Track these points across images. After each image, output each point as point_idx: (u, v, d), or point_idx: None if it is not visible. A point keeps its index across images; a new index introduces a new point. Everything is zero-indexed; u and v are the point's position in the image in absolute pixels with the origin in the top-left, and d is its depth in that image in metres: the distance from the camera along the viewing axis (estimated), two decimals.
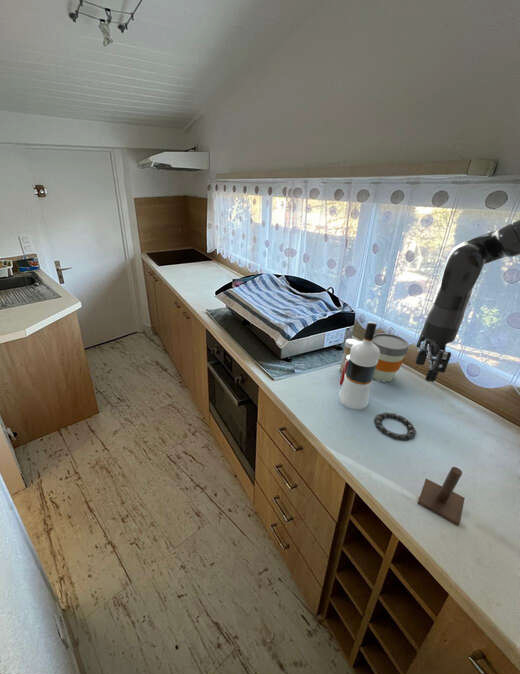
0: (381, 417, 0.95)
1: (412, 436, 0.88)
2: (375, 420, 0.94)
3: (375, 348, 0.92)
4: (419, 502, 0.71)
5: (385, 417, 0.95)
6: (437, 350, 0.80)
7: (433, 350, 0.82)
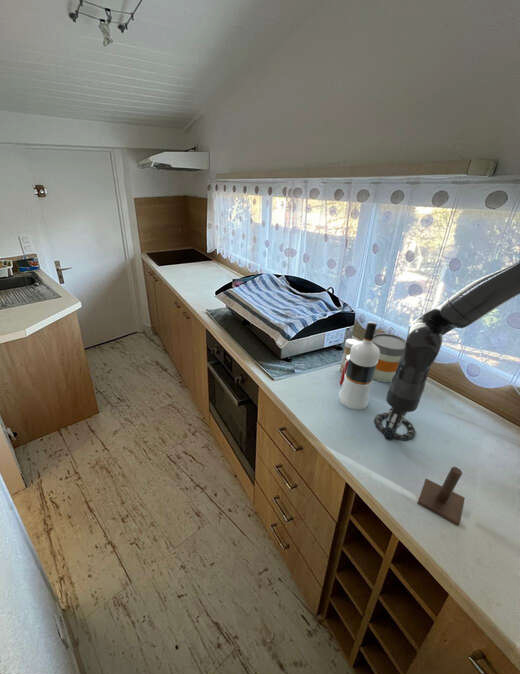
0: (381, 417, 0.95)
1: (412, 436, 0.88)
2: (375, 420, 0.94)
3: (375, 348, 0.92)
4: (419, 502, 0.71)
5: (385, 417, 0.95)
6: (391, 415, 0.83)
7: (390, 415, 0.84)
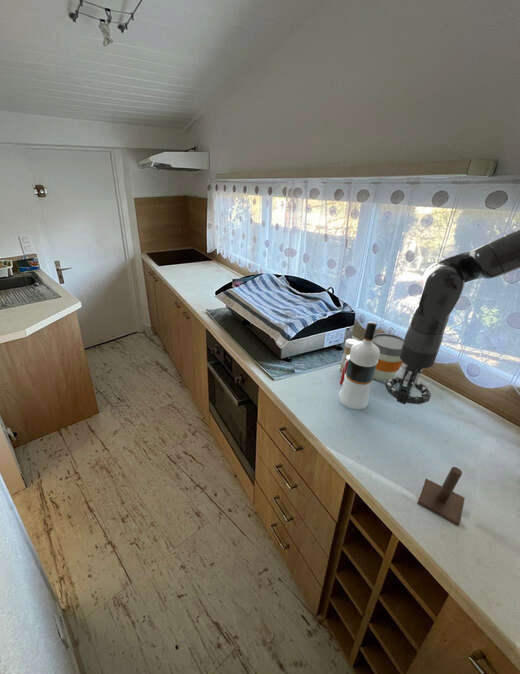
0: (393, 381, 0.88)
1: (427, 398, 0.81)
2: (386, 384, 0.87)
3: (375, 348, 0.92)
4: (419, 502, 0.71)
5: (397, 381, 0.89)
6: (405, 373, 0.76)
7: (404, 373, 0.78)
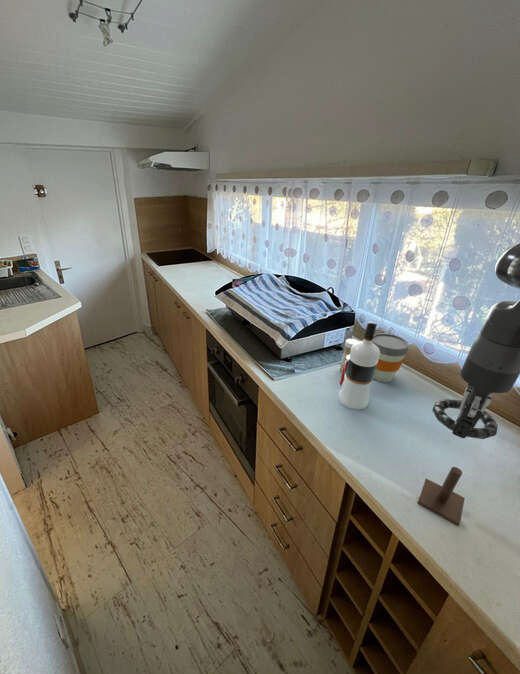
0: (443, 405, 0.67)
1: (494, 431, 0.61)
2: (435, 408, 0.67)
3: (375, 348, 0.92)
4: (419, 502, 0.71)
5: (448, 405, 0.68)
6: (471, 399, 0.55)
7: (468, 398, 0.57)
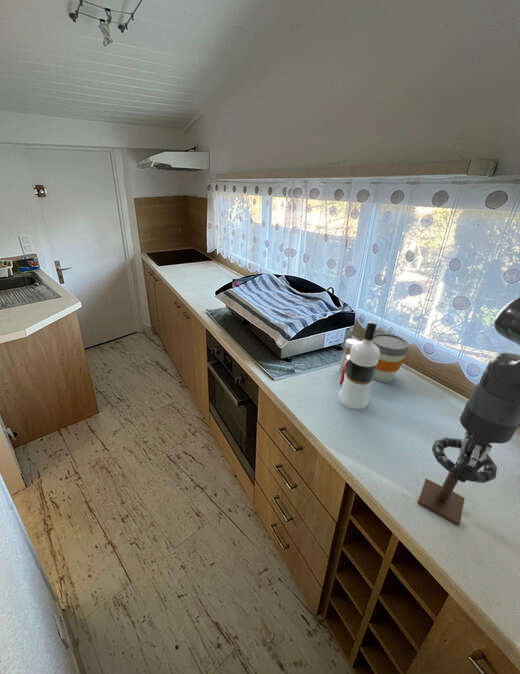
0: (442, 444, 0.67)
1: (494, 475, 0.61)
2: (434, 449, 0.67)
3: (375, 348, 0.92)
4: (419, 502, 0.71)
5: (447, 444, 0.68)
6: (471, 447, 0.55)
7: (468, 446, 0.57)
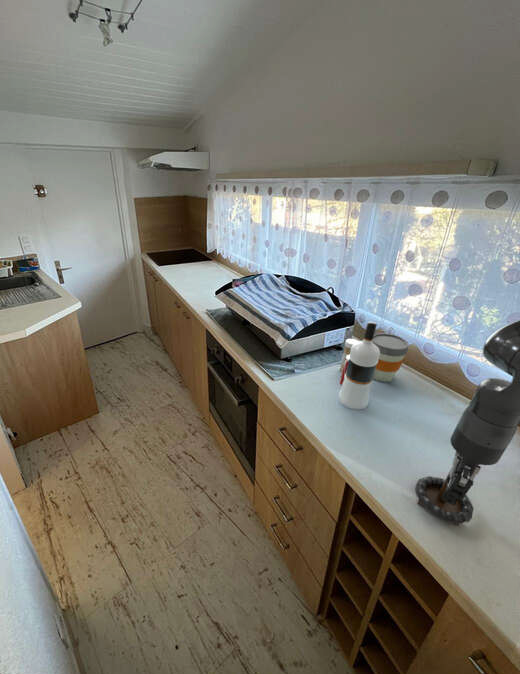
0: (425, 484, 0.73)
1: (470, 516, 0.66)
2: (417, 488, 0.72)
3: (375, 348, 0.92)
4: (419, 502, 0.71)
5: (430, 484, 0.74)
6: (461, 468, 0.57)
7: (458, 466, 0.59)
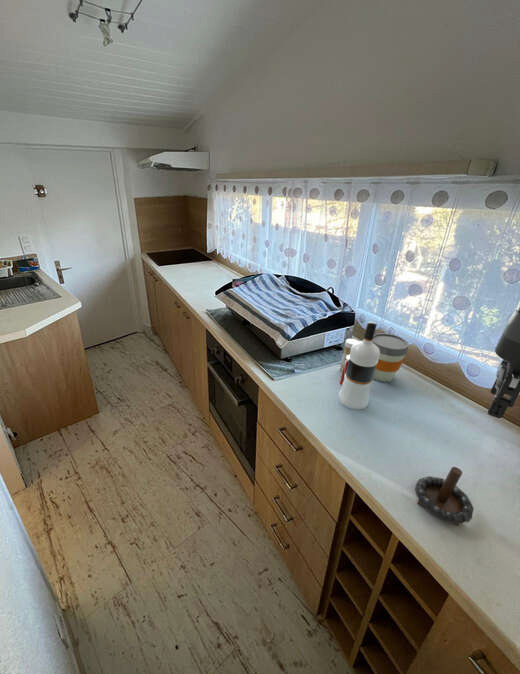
0: (425, 484, 0.73)
1: (470, 516, 0.66)
2: (417, 488, 0.72)
3: (375, 348, 0.92)
4: (419, 502, 0.71)
5: (430, 484, 0.74)
6: (508, 374, 0.57)
7: (504, 375, 0.59)
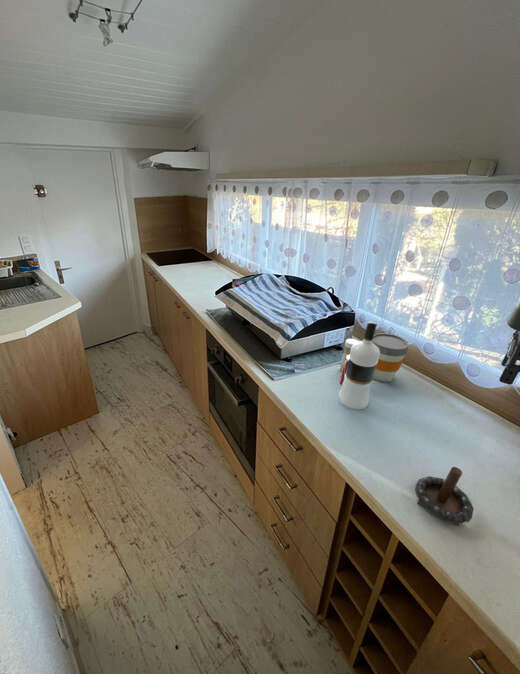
0: (425, 484, 0.73)
1: (470, 516, 0.66)
2: (417, 488, 0.72)
3: (375, 348, 0.92)
4: (419, 502, 0.71)
5: (430, 484, 0.74)
6: None
7: (516, 344, 0.64)
